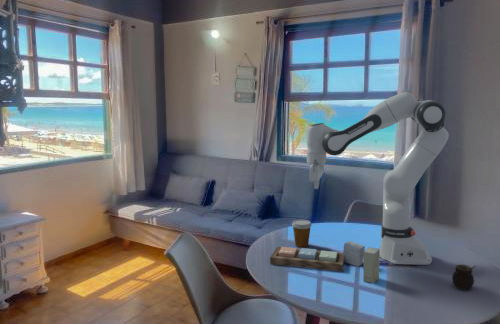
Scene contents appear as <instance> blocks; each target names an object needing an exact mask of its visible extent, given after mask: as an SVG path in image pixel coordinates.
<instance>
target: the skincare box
mask: <svg viewBox="0 0 500 324" xmlns="http://www.w3.org/2000/svg"><path fill="white" fill-rule="evenodd" d="M379 253H380V248H375V247H371V246H369V247H367V248H365V250H364V258H363V279H362V281H364V282H366V283H367V282H368V283H372V284H374V283H376V282H377V281H378V280H379V279H380V257H379Z"/></svg>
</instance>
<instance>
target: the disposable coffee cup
mask: <svg viewBox="0 0 500 324" xmlns="http://www.w3.org/2000/svg"><path fill="white" fill-rule="evenodd" d="M291 226H292V229H293V236H294V237H293V238H294V244H295V245H294V246H295V247H296V248H299V249H301V248H308V247H309V241H310V233H311V227H312V223H311V221H310V220H307V219H295V220H293V221H292V223H291Z"/></svg>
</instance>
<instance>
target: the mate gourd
mask: <svg viewBox="0 0 500 324" xmlns="http://www.w3.org/2000/svg"><path fill="white" fill-rule="evenodd" d="M476 266H477V265H474V266H472V267H471V266H470V265H466V264H456V265H455V268H454V269H455V270H454V272H453V274H452V277H451V278H452V284H453V285H454V287H455V288H457V289H459V290H463V291H468V290H470V289H472V288H473V286H474V283H475V278H474V276H473V269H474V268H475V267H476Z"/></svg>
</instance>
